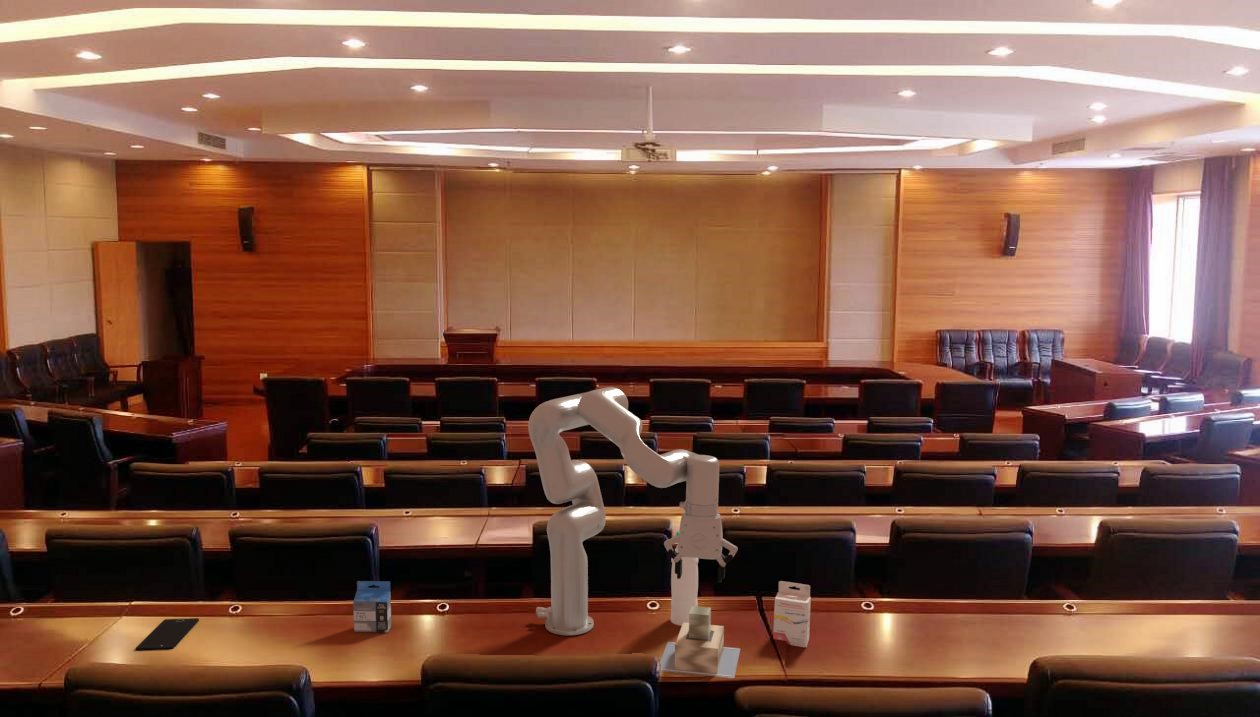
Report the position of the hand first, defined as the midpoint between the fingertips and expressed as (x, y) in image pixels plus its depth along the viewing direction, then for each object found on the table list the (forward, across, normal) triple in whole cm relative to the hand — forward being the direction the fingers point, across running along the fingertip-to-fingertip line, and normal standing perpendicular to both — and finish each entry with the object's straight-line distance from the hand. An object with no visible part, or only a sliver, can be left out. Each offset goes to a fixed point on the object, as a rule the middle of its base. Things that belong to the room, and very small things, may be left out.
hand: (699, 578), depth 219 cm
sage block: (+14, 0, 0) cm, 14 cm away
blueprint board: (+21, +1, 0) cm, 21 cm away
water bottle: (+21, -6, +22) cm, 31 cm away
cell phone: (+24, -133, -13) cm, 136 cm away
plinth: (+20, +1, 0) cm, 20 cm away
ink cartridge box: (+21, +22, +17) cm, 34 cm away
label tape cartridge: (+22, -84, +1) cm, 87 cm away
